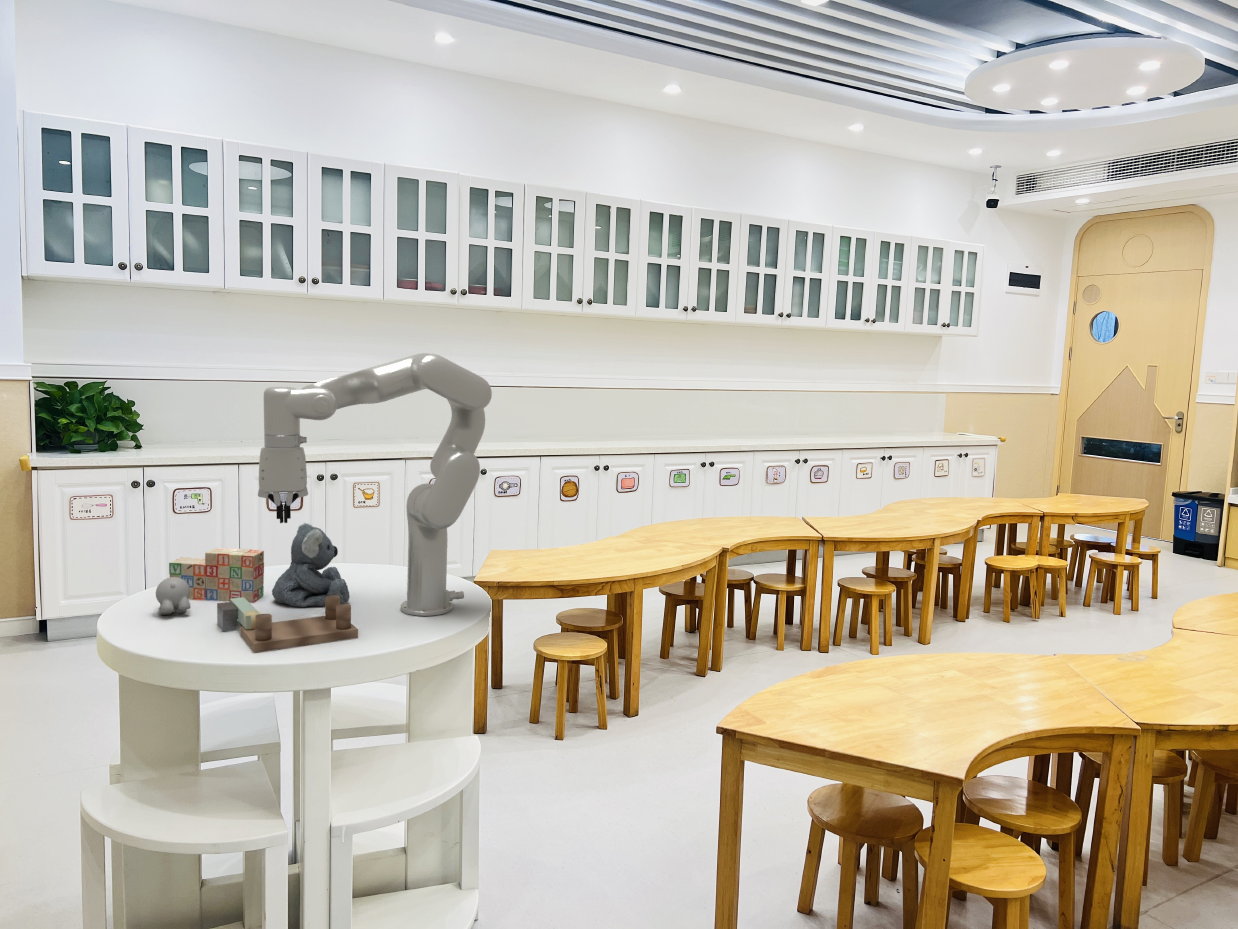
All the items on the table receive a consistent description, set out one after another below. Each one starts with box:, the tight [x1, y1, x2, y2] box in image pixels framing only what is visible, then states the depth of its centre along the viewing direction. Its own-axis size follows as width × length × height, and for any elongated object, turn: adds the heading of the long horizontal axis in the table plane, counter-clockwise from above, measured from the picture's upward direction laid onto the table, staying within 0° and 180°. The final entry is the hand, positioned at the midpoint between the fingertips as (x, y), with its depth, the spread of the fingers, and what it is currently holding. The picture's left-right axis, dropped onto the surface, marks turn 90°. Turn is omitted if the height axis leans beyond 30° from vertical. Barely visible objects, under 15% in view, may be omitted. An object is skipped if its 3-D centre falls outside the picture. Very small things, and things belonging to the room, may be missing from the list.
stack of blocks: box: [168, 547, 265, 604], centre depth 220 cm, size 21×6×12 cm, turn 88°
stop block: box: [216, 601, 238, 633], centre depth 198 cm, size 3×6×5 cm, turn 35°
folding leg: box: [230, 597, 261, 629], centre depth 197 cm, size 15×3×3 cm, turn 36°
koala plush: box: [271, 522, 350, 608], centre depth 221 cm, size 17×18×20 cm
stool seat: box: [239, 595, 359, 654], centre depth 194 cm, size 22×13×7 cm, turn 125°
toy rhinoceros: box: [155, 576, 191, 616], centre depth 207 cm, size 7×12×8 cm, turn 35°
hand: (283, 521), depth 200 cm, fingers closed
